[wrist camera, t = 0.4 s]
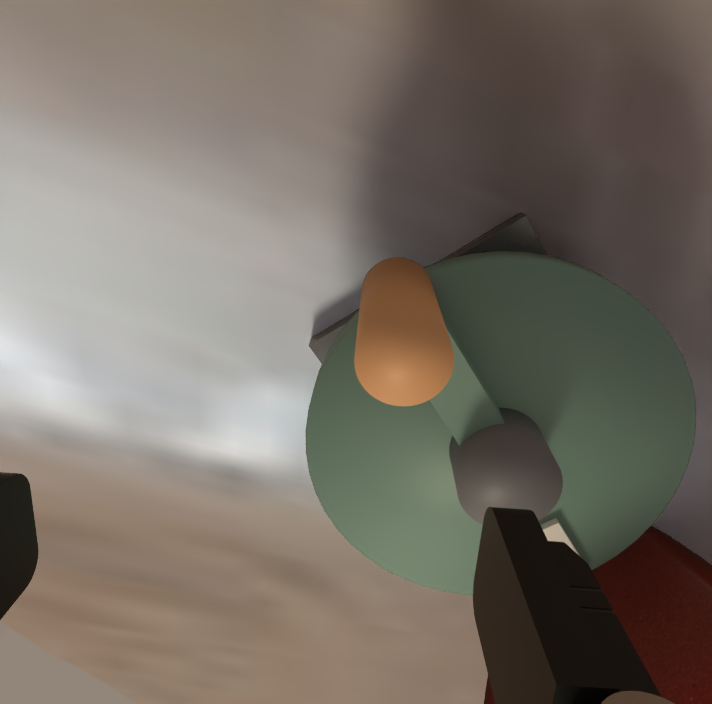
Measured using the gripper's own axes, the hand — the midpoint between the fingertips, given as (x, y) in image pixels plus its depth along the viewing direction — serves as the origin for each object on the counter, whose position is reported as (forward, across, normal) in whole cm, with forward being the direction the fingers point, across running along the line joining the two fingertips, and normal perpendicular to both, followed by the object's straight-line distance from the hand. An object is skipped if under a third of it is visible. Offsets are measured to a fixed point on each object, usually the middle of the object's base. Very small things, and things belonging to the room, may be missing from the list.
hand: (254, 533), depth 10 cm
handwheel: (+17, -8, +6) cm, 20 cm away
